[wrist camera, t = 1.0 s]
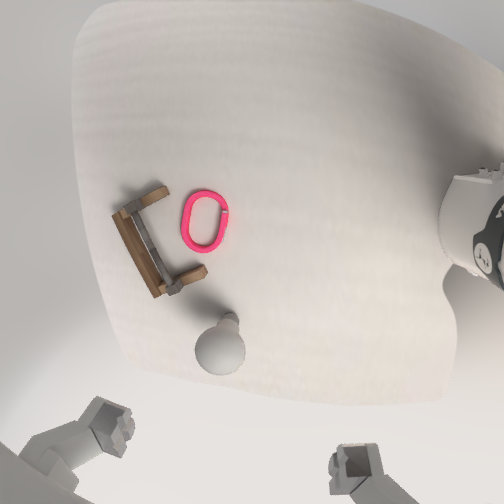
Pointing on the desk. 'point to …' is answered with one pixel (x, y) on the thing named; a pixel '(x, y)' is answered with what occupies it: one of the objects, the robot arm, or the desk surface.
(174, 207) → the desk surface
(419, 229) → the desk surface
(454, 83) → the desk surface
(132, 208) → the wooden bar clamp
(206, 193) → the fitness band
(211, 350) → the lightbulb
